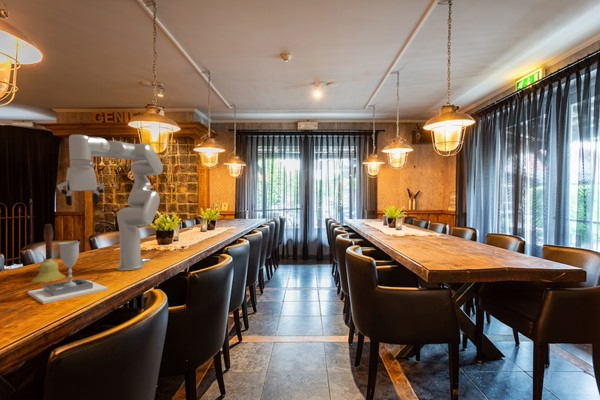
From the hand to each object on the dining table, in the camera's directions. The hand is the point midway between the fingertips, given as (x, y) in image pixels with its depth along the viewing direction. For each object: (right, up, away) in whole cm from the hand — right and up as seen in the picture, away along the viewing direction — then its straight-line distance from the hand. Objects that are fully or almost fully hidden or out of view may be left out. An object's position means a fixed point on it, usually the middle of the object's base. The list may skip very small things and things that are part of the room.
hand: (83, 204), depth 133 cm
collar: (+3, -34, -12) cm, 36 cm away
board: (+3, -34, -12) cm, 36 cm away
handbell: (-21, -34, +9) cm, 41 cm away
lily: (-34, -34, +23) cm, 53 cm away
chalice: (+3, -33, -12) cm, 35 cm away
